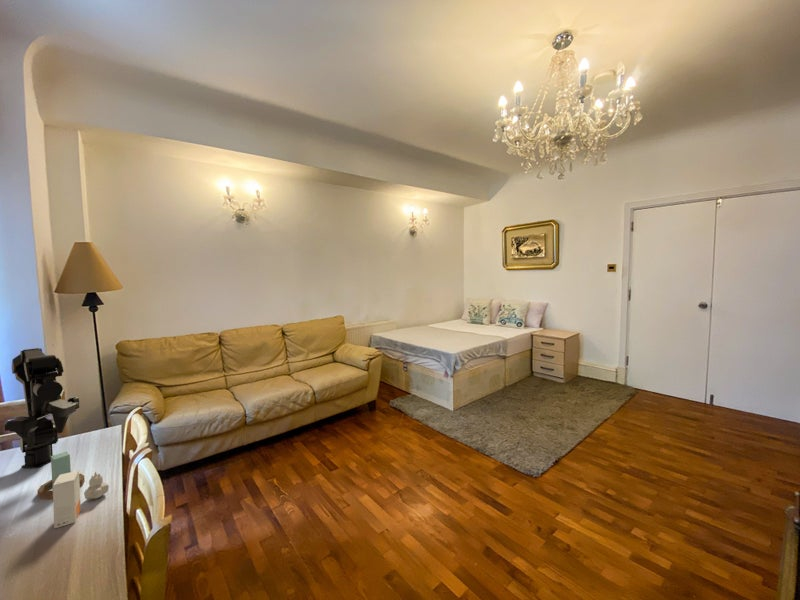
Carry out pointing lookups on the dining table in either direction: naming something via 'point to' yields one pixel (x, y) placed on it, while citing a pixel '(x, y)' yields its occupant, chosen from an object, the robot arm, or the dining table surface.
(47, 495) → the walnut ring
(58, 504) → the skincare box
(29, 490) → the dining table surface
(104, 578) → the dining table surface
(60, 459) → the green rectangular block
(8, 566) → the dining table surface
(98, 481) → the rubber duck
